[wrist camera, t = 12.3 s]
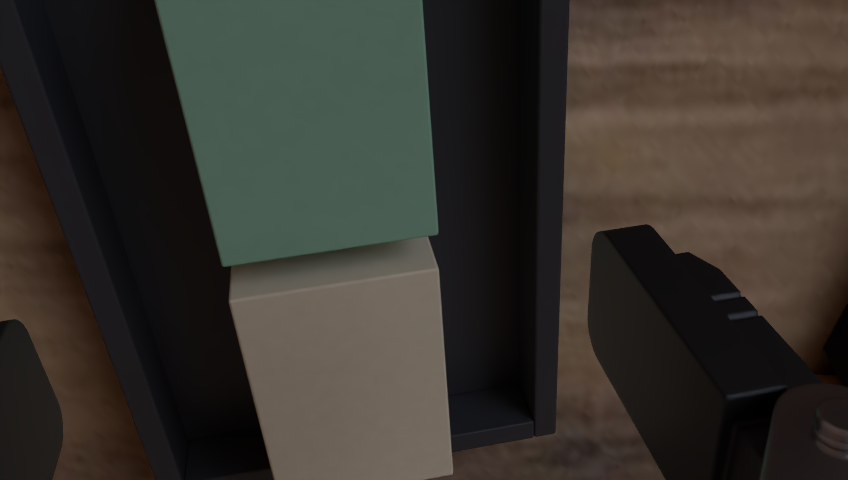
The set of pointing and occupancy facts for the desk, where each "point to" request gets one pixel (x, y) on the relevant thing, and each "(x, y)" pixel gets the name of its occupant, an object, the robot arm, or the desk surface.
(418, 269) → the beige pad
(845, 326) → the pan flute
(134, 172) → the tray
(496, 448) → the desk surface
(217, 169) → the sage pad
